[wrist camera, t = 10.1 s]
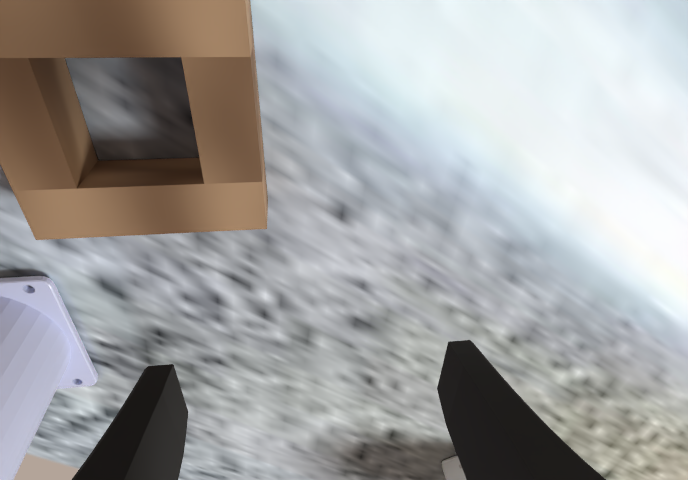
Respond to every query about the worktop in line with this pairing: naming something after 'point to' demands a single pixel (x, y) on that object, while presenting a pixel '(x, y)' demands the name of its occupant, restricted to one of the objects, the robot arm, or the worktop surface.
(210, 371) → the worktop surface
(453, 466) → the skincare box
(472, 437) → the robot arm
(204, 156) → the socket block
